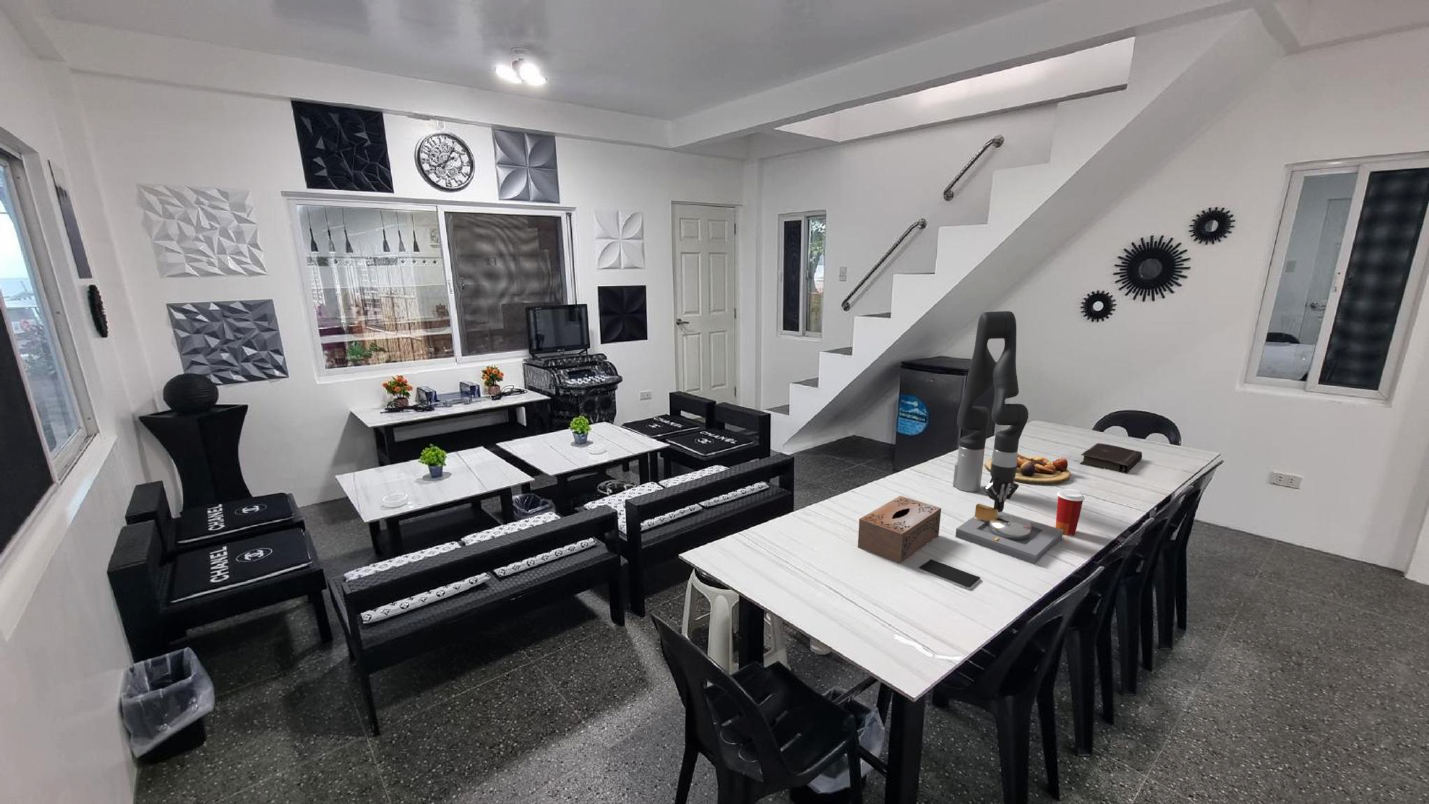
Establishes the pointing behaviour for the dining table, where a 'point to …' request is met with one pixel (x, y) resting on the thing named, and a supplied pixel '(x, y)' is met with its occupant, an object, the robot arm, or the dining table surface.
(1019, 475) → the wooden plate with food
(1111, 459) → the diary
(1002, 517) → the dial
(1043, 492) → the dining table surface
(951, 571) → the smartphone
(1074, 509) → the paper cup
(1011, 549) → the panel
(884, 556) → the tissue box cover
